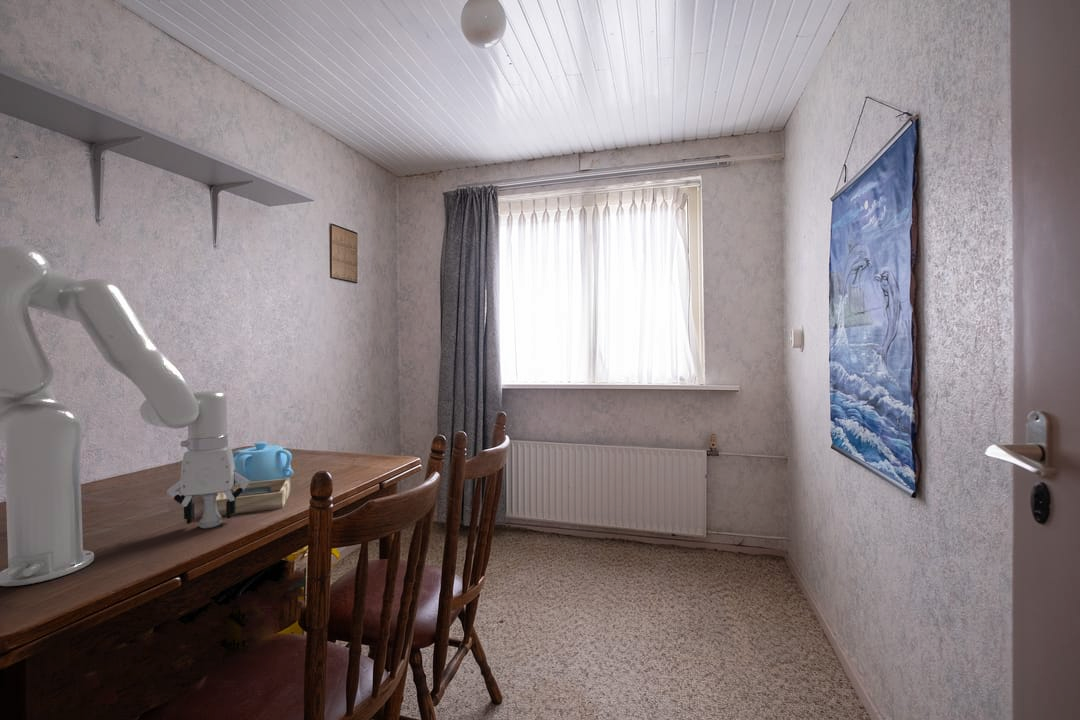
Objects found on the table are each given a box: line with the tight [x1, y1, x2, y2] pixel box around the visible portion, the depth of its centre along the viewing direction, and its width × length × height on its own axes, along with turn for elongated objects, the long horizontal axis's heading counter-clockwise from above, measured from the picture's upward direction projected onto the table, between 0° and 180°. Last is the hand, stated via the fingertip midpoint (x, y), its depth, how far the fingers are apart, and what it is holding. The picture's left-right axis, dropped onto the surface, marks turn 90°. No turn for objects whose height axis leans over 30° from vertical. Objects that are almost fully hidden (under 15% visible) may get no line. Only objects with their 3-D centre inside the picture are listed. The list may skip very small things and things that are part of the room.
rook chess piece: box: [198, 493, 223, 529], centre depth 108 cm, size 4×4×8 cm
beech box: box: [216, 477, 291, 517], centre depth 125 cm, size 16×16×4 cm
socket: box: [237, 485, 272, 497], centre depth 125 cm, size 8×8×3 cm
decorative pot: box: [232, 441, 294, 484], centre depth 142 cm, size 16×16×14 cm
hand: (210, 518), depth 108 cm, fingers open, 7 cm apart
